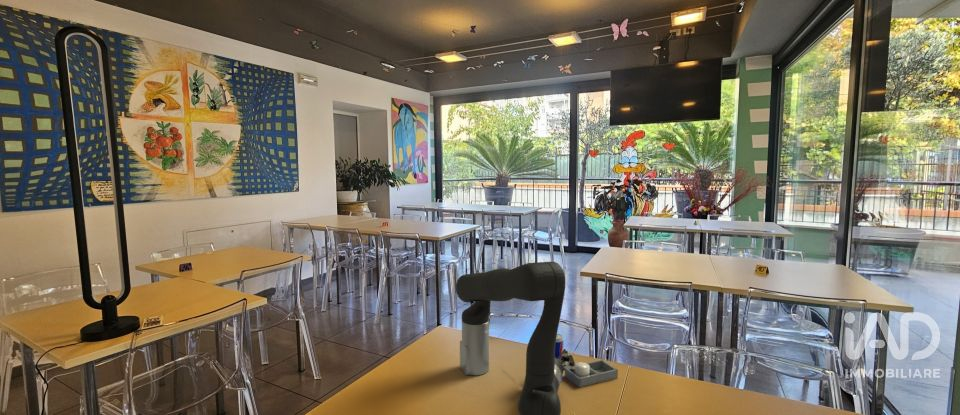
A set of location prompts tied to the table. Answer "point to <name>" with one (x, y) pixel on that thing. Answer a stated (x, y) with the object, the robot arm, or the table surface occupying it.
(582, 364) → the ball
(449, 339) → the table surface
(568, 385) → the table surface
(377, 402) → the table surface
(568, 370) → the carrier
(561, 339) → the beverage can
